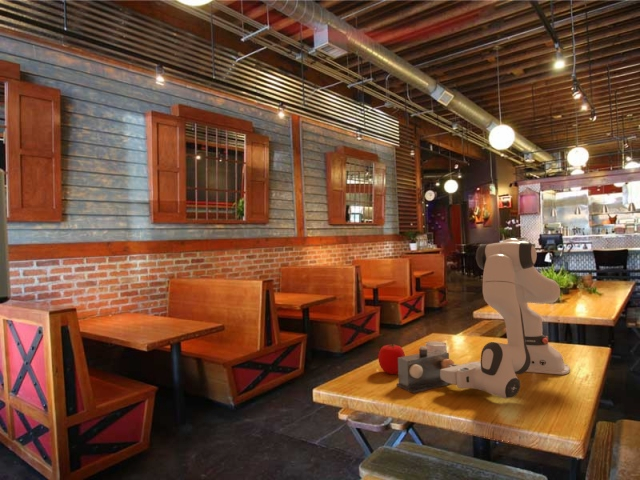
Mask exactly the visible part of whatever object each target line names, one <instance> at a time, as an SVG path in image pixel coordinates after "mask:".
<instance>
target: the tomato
mask: <svg viewBox="0 0 640 480" xmlns="http://www.w3.org/2000/svg"><path fill="white" fill-rule="evenodd" d="M404 356H406V353H405V351H404V349H403V348H402V347H401V346H400V345H397V344H393V343H391V344H387V345H386V344H385V345H383V346H382V347H380V350H379V352H378V355H377V357H378V360H377V361H378V363H379V366H380V368H381V370H382V371H383V372H385V373H387V374H390V375H398V358H399V357H404Z"/></svg>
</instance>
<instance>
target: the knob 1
mask: <svg viewBox="0 0 640 480" xmlns="http://www.w3.org/2000/svg"><path fill="white" fill-rule="evenodd" d="M409 373H410V375H411V376H412V377H414V378H420V377H421V376H422V374H423V369H422V367H421V366H420V365H417V364H413V365H412V366H411V367H410V369H409Z"/></svg>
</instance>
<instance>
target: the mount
mask: <svg viewBox="0 0 640 480" xmlns="http://www.w3.org/2000/svg"><path fill="white" fill-rule="evenodd" d="M444 359H450V353H449V352H448V351H447V352H444V351H441V350H435V351H430V352H428V356H420V355H419V353H415V354H409V355H405V356H404V357H399V358H398V374H397V375H398V383H396V387H399V388H400V389H403V390H405V391H407V392H409V393H411V394H417V393H421V392H425V391H429V390H433V389H436V388H441V387H445V386H449V385H451V384H450V383H448V382H445V381H443V380H442V379H441V378H440V370H441V369H442V367H441V362H440V361H443V360H444ZM413 364H417V365H420V366H421V367H422V369H423V374H422V376H421V377H420V378H414V377H412V376H411V375H410V373H409V369H410V367H411V366H412V365H413Z"/></svg>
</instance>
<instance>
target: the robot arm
mask: <svg viewBox="0 0 640 480" xmlns="http://www.w3.org/2000/svg"><path fill="white" fill-rule="evenodd" d="M537 254H538V253H537V250H536V248H535V246H534V244H532V242H529V241H524V240H522V241H521V240H520V239H518V238H513V237H510V238H506V239H505V240H503V241H501V242H493V243H485V244H482V245H479V246H478V248H477V249H476V252H475V260H476V264H477V266H478V267H479V268H480V269H481V270H483V272H482V274H483V275H482V295H483V300H484V301H485V303H487V305H488V306H489V307H490V308H493V310H495V311H496V312H498V314H499V315H500V316H501V317H502V318H503V320H504V324H505V330H506V338H507V343H506V344H505V343H503V342H502V343H501V342H494V341H490V342H487V343H486V344H485V345H484V346H483V348H482V349H481V353H480V361H479V360H478V361H477V360H476V361H471V362H467V363H462V364H455V363H454V364H451V365H447V368H444V369H441V370H440V378H441V379H442V380H443V381H445V382H448V383H450V385H454V386H457V388H459V389H473V390H474V389H475V390H479V391H485V392H486V393H488V394H490V395H493V396H495V397H498V398H499V397H500V398H504V399H510V398H513V397H515V396H516V395H518V393H519V391H520V388H521V381H520V379H519V378H518V376H517V375H522V374H524V373H537V374H539V373H540V374H549V375H560V376H561V375H567V374H568V373H570V371H571V369H570V368H571V367H570V366H569V365H568V364H566V363H564V362H565V361H564V358H563V355H562V353H561V352H560V351H559V350H557V349H556V348H554V347H553V346H552V345H550V344H549V338H548V337H549V336H548V335H545V334H543V318H542V316H541V315H540V314H539V313H538V312H537V311H534V310H533V309H531V308H530V306H529V305H528V303H529V304H551V303H555V302H556V301H558V300H559V298H560V295H561V289H560V288H561V287H560V285H559V284H558V282H557V281H556V280H554V279H552V278H549V277H547V276H545V275H543V274H542V273H541V272H539V271H538V270H537V268H535V265H536V261H537V257H538V255H537Z"/></svg>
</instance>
